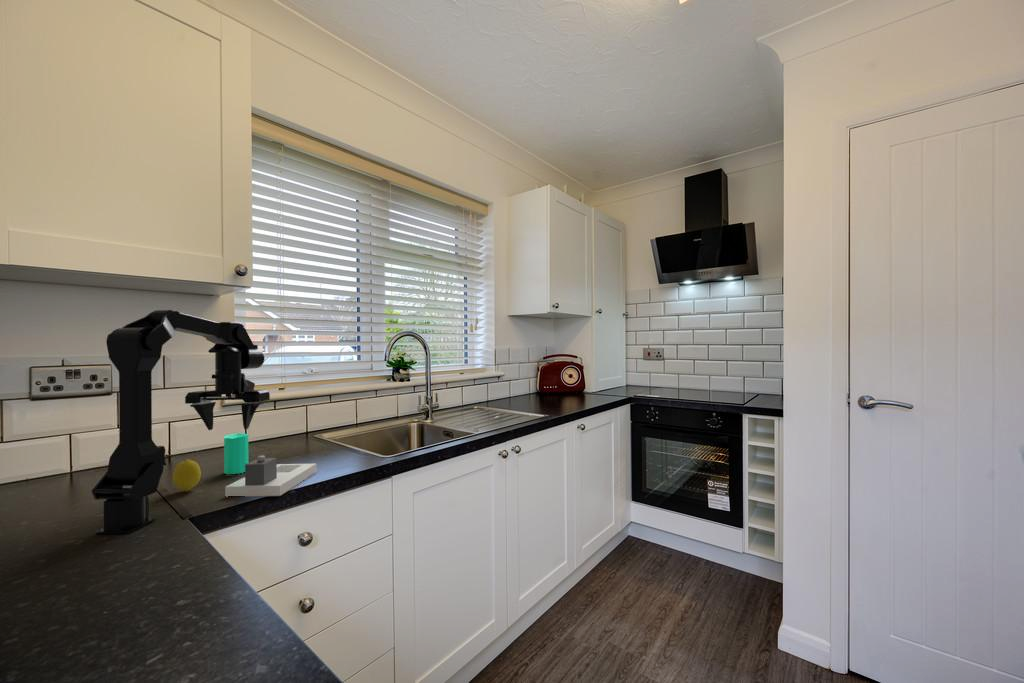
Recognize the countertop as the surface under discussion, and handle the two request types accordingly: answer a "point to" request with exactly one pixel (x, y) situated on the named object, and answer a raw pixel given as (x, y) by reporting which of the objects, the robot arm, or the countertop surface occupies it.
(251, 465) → the plug
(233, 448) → the candle
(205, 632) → the countertop surface
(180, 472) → the lemon
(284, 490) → the socket plate
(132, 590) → the countertop surface
